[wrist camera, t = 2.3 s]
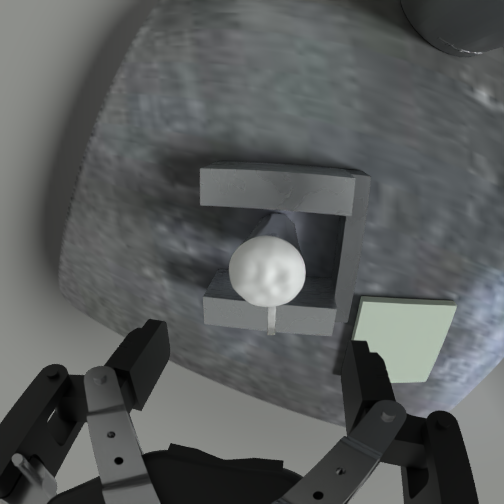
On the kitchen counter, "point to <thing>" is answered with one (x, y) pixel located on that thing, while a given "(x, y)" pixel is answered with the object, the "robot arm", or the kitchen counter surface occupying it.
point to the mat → (404, 333)
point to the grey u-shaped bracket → (290, 199)
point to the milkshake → (269, 265)
